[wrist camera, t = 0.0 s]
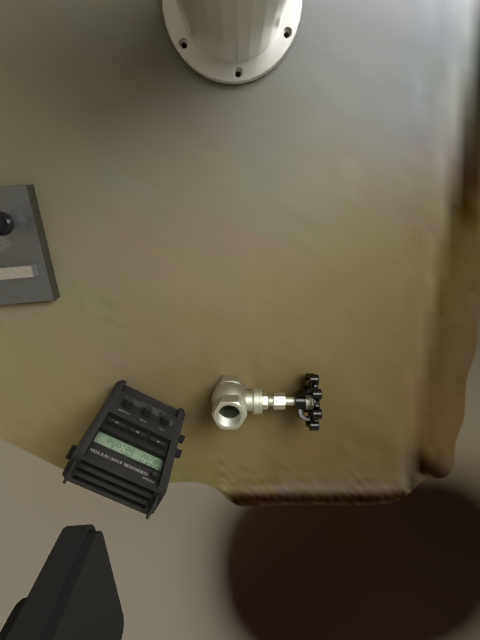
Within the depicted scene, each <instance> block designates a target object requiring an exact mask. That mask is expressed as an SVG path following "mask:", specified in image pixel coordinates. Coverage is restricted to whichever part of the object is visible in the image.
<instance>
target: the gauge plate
mask: <svg viewBox="0 0 480 640" xmlns="http://www.w3.org/2000/svg"><path fill="white" fill-rule="evenodd" d="M59 297H60V296H59V291H58V287H57V283H56V279H55V275H54V270H53V266H52V262H51V258H50V253H49V249H48V245H47V241H46V236H45V232H44V228H43V224H42V220H41V215H40V211H39V207H38V203H37V198H36V194H35V190H34V186H33V185H17V186H7V187H0V305H6V304H17V303H29V302H40V301H51V300H55V299H57V298H59Z"/></svg>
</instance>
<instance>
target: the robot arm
mask: <svg viewBox="0 0 480 640" xmlns="http://www.w3.org/2000/svg"><path fill="white" fill-rule="evenodd" d="M302 7H303V0H162V10H163V15H164V20H165V25H166V28H167V30H168V33H169V36H170V38H171V40H172V42H173V44H174V46H175V48H176V50H177V51H178V53H179V54H180V56H181V57H182V58H183V60H184V61H185V62H186V63H187V64H188V65H189V66H190V67H191V68H192V69H193V70H194V71H196V72H197V73H199V74H200V75H202V76H203V77H205V78H207V79H210V80H212V81H215V82H217V83H223V84H229V85H232V84H244V83H248V82H251V81H255V80H257V79H259V78H260V77H262V76H264V75H266V74H267V73H269V72H270V71H271V70H272V69H274V68H275V67H276V66H277V65H278V64H279V63H280V61H281V60H282V59H283V58H284V57H285V55H286V54H287V52H288V50H289V49H290V47H291V45H292V44H293V41H294V39H295V36H296V34H297V31H298V27H299V24H300V20H301V15H302ZM285 33H288V34H289V37H288V38H285V37H284V34H285ZM183 44H186V45H187V47H186V48H185V49H183V48H182V45H183ZM236 72H239V73H240V74H241V75H240V77H236V76H235V74H236ZM123 619H124V618H123V612H122V609H121V604H120V600H119V596H118V592H117V589H116V584H115V580H114V577H113V572H112V569H111V564H110V561H109V556H108V552H107V548H106V545H105V541H104V537H103V534H102V532H101V531H96V530H95V527H94V526H93V525H77V526H66V527H65V528H64V529H63V530H62V532H61V534H60V535H59V537H58V539H57V541H56V543H55V545H54V547H53V549H52V551H51V553H50V555H49V556H48V558H47V560H46V562H45V564H44V566H43V568H42V570H41V572H40V574H39V576H38V578H37V580H36V582H35V583H34V585H33V587H32V589H31V591H30V593H29V595H28V597H26V598H23V599H22V600H20V602H18V603H17V604H16V606H15V607H14V609H13V611H12V612H11V614H10V616H9V617H8V619H7V621H6V623H5V625H4V627H3V628H2V630H1V632H0V640H121V638H122V634H123V625H124V620H123Z"/></svg>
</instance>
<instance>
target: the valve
mask: <svg viewBox="0 0 480 640" xmlns="http://www.w3.org/2000/svg"><path fill="white" fill-rule="evenodd" d="M305 380H309V383H308V385H304V386H303V390H300V391H298V392H294V393H293V397H285V393H283V392H273V396H269V395H268V393H267V392H262V388H253V390H252V391H251V390H246V387H245V385H244V383H243V382H242V380H241V379H240V377H239V376H238V375H222V377H221V378H220V380H219V381H218V383H217V385H216V386H215V390H214V392H213V395H212V407H213V408H212V417H213V419H214V420H215V422H216V424H217V425H218V426H219V428H220V429H229V430H230V429H238V428H239V427H240V426H241V424H242V423H243V422H244V420H245V418H246V417H247V411H253V414H262V409H267V408H268V406H273V409H285V406H286V405H293V408H294V410H297V413H298V416H299V417H300V418H301V419H302V420H304V421H305V422H306V427H309V430H310V431H318V430H319V421H318V419H322V410H321V409H320V407H319V400H321V398H322V391H321V389H318V384H319V376H318V375H315V374H314V373H306V375H305ZM302 410H304V412H308V416H304V415H303V411H302Z"/></svg>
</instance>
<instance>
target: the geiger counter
mask: <svg viewBox="0 0 480 640" xmlns="http://www.w3.org/2000/svg"><path fill="white" fill-rule="evenodd" d="M125 383H126V381H124V380H122V381H118V382H117V384H116V385H115V387H114V389H113V390H112V392H111V393H110V395H109V396H108V398H107V400H106V401H105V403H104V404H103V406H102V407H101V409H100V411H99V412H98V414H97V415H96V417H95V419H94V420H93V422H92V423H91V425H90V426H89V428H88V430H87V431H86V433H85V434H84V436H83V438H82V439H81V441H80V442H79V444H78V445H77V446H75V445H73V446H72V447H71V449H70V450H69V452H68V454H67V456H66V459H69V462H68V464H67V466H66V468H65V469H64V472H63V476H64V478H65V479H64V481H63V483H64V484H65V483H66V481H69V482H72V483H74V484H76V485H79V486H81V487H84V488H86V489H88V490H91V491H93V492H95V493H97V494H100V495H103V496H104V497H107V498H109V499H111V500H114V501H117V502H118V503H121V504H123V505H125V506H128V507H130V508H133V509H135V510H137V511H140V512H142V513H144V514H147V515H146V519H148V518H149V517H150V515H151V514H152V513H154V511H155V510H156V508H157V506H158V505H159V503H160V502H161V500H162V498H163V497H164V495H165V493H166V490H167V486H168V483H169V478H170V474H171V470H172V466H173V462H174V457H176V458H179V457H180V455H181V453H182V451H181V450H179V449H177V445H178V442H179V443H181V444H182V443H183V441H184V438H185V436H183V435H181V434H180V432H181V428H182V424H183V420H184V415H185V412H184V410H183V409H182V408H180V409H179V410H176V409H174V408H172V407H170V406H168V405H166V404H164V403H162V402H160V401H158V400H156V399H153V398H151V397H149V396H147V395H145V394H143V393H141V392H139V391H137V390H135V389H133V388H131V387H128V386H126V385H125Z"/></svg>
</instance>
